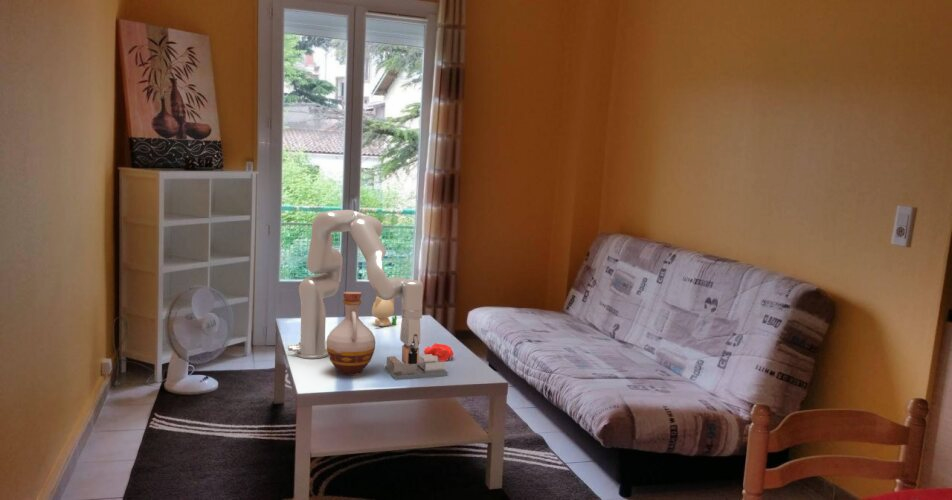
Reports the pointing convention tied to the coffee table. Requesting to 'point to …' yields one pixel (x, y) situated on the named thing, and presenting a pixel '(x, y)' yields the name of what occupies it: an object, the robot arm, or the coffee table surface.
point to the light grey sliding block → (426, 359)
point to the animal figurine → (439, 351)
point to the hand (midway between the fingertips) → (410, 361)
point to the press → (414, 369)
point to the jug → (351, 339)
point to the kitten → (383, 311)
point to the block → (407, 354)
